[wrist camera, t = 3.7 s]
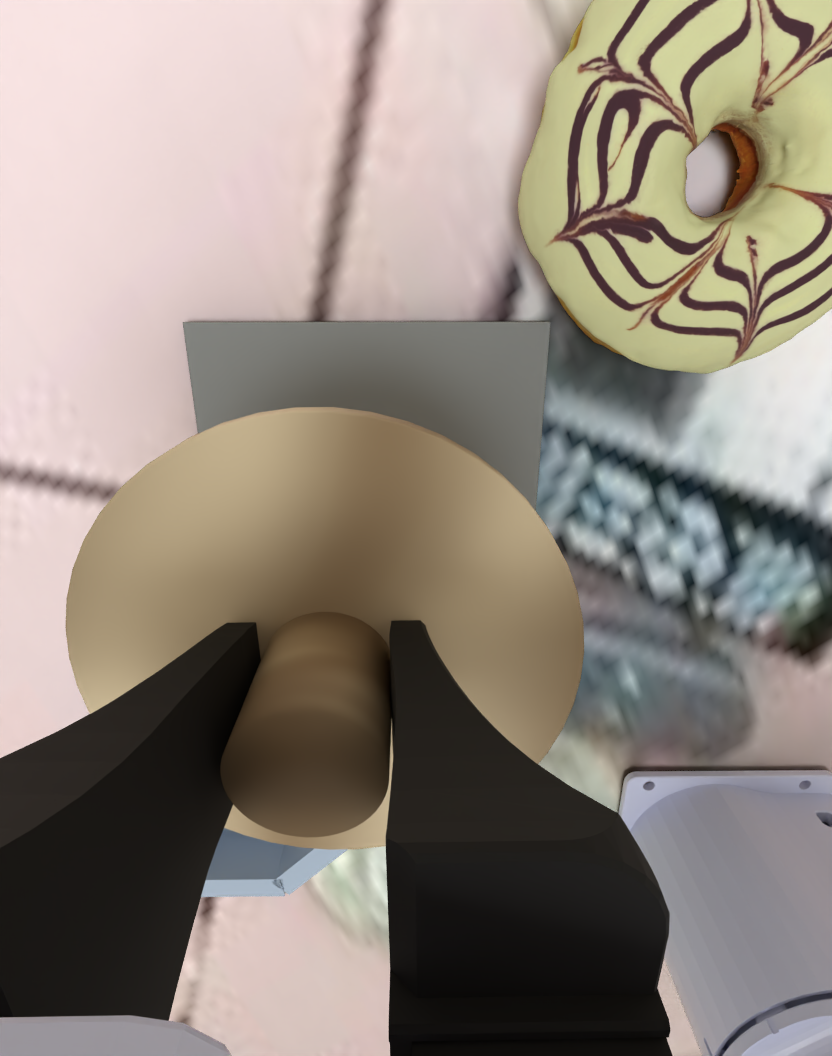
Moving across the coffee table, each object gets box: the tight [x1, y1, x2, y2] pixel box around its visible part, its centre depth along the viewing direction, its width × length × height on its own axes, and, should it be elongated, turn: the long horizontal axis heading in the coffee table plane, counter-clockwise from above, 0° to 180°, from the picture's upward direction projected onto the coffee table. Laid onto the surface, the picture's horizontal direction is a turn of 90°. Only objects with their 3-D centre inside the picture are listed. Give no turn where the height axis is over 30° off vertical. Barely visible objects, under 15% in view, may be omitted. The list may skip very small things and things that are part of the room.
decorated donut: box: [518, 0, 832, 374], centre depth 16 cm, size 10×11×4 cm
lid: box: [66, 407, 584, 850], centre depth 11 cm, size 11×11×4 cm
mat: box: [183, 322, 550, 511], centre depth 21 cm, size 12×12×1 cm
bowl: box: [201, 828, 348, 897], centre depth 24 cm, size 10×10×3 cm
